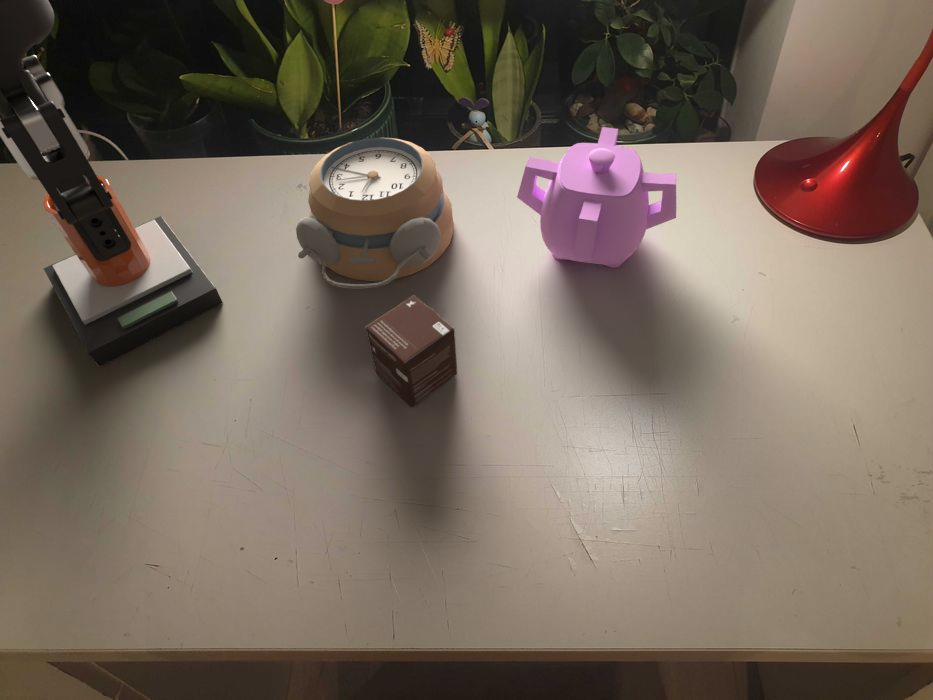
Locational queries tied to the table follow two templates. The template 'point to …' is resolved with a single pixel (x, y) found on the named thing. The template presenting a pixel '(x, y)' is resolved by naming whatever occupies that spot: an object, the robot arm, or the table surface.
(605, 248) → the pot
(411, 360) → the box
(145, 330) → the scale
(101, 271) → the cup
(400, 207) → the alarm clock
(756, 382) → the table surface
